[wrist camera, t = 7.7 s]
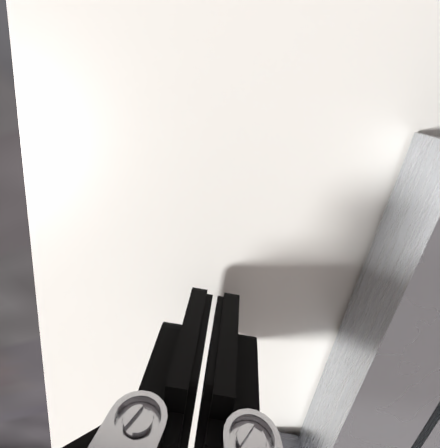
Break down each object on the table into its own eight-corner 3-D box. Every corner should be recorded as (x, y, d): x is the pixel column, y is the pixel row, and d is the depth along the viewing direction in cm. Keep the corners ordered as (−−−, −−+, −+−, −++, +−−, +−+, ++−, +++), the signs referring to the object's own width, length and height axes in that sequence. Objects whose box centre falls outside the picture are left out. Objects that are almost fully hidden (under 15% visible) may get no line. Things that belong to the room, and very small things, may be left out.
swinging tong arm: (372, 125, 9) (414, 138, 7) (499, 145, 9) (586, 166, 7) (255, 481, 16) (256, 547, 14) (326, 494, 16) (339, 562, 14)
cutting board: (24, -215, 8) (-22, -276, 7) (861, -86, 8) (993, -123, 6) (68, 454, 19) (55, 482, 18) (410, 519, 19) (423, 552, 18)
